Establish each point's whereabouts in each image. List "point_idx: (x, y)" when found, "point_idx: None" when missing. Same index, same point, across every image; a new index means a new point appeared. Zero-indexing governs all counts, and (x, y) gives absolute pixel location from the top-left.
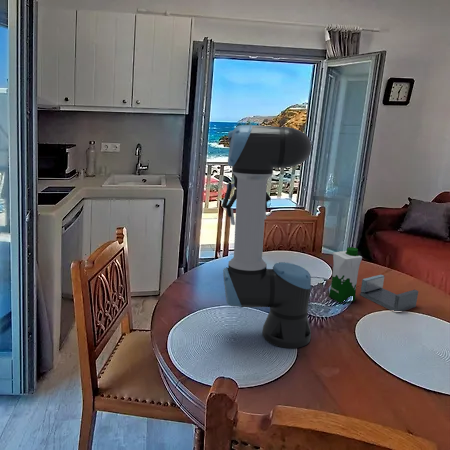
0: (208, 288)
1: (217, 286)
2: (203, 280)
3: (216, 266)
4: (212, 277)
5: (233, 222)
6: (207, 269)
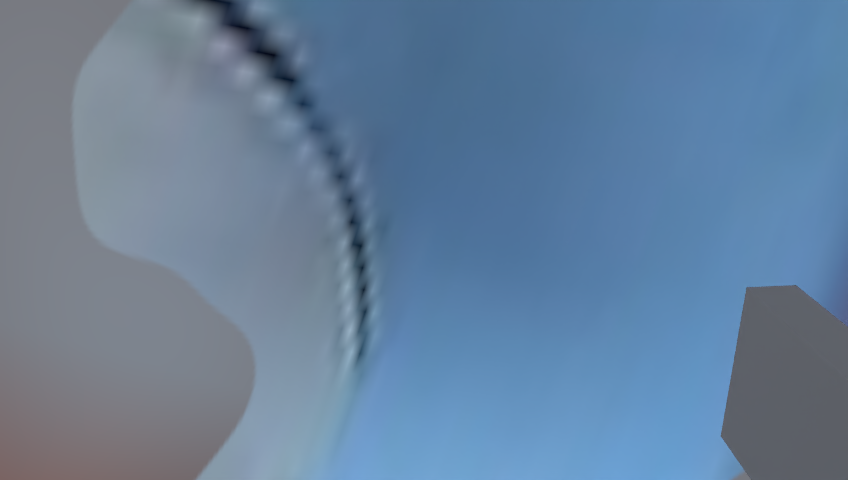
0: (833, 15)
1: (739, 44)
2: (815, 193)
3: (598, 461)
4: (713, 242)
5: (821, 315)
6: (696, 415)
